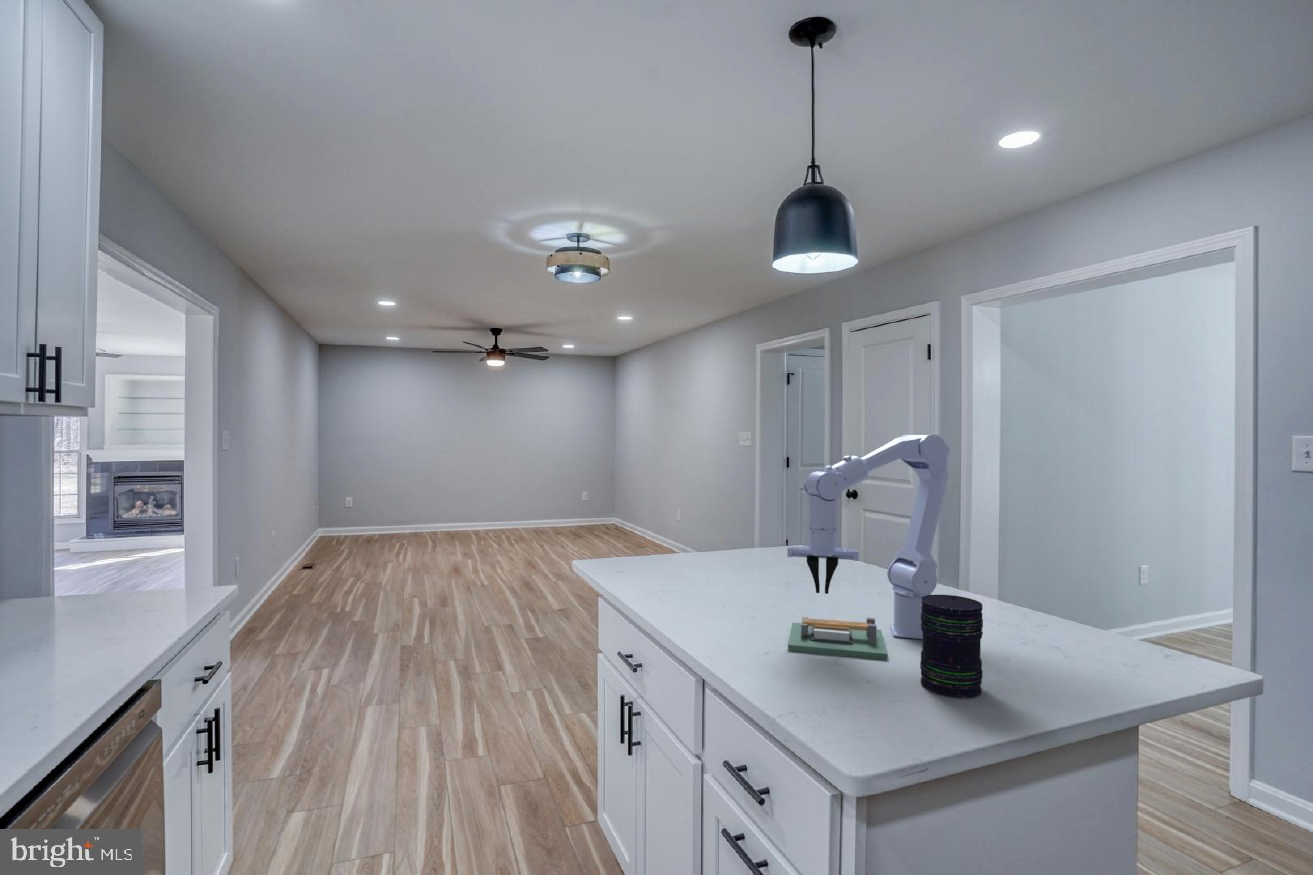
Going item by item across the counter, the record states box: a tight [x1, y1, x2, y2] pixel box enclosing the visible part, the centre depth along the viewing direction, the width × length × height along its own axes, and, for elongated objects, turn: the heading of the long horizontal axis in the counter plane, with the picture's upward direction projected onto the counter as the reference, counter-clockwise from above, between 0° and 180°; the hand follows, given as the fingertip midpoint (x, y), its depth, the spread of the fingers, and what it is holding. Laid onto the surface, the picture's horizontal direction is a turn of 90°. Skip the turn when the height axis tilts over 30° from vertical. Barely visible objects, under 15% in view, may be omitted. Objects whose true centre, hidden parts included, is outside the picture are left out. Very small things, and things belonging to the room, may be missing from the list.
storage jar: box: [919, 594, 984, 700], centre depth 111 cm, size 10×10×15 cm
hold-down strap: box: [801, 617, 873, 631], centre depth 134 cm, size 15×3×2 cm, turn 75°
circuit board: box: [787, 616, 888, 661], centre depth 134 cm, size 19×16×5 cm
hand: (822, 592), depth 135 cm, fingers closed
